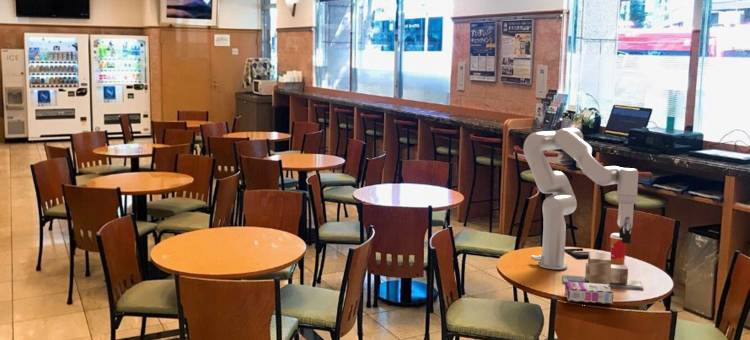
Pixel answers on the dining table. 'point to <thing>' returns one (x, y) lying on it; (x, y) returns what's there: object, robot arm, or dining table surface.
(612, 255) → the paper cup
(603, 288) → the candy bar box
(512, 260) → the dining table surface
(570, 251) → the battery charger
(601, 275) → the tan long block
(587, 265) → the block
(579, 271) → the dining table surface
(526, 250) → the dining table surface
